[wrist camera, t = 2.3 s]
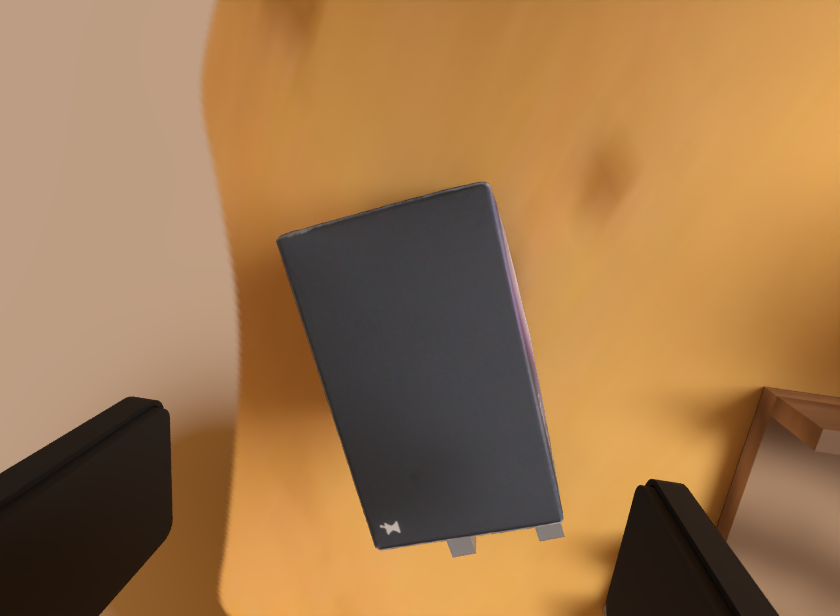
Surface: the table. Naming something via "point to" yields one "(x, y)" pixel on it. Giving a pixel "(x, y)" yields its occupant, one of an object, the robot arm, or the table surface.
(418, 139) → the table surface
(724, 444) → the table surface
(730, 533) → the holder
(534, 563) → the table surface
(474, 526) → the small box
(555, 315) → the table surface
